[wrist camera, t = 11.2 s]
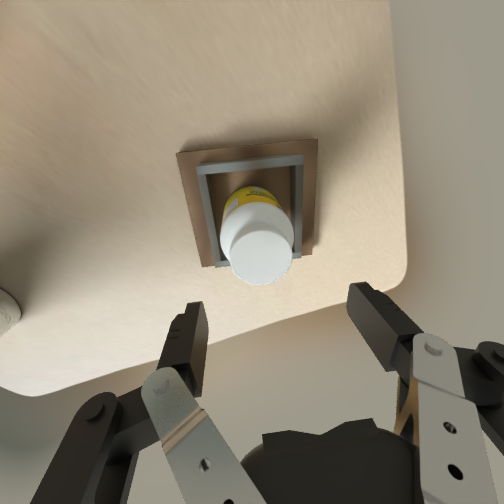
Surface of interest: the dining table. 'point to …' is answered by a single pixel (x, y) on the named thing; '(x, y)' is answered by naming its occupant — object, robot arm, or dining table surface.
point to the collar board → (243, 174)
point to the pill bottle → (256, 235)
